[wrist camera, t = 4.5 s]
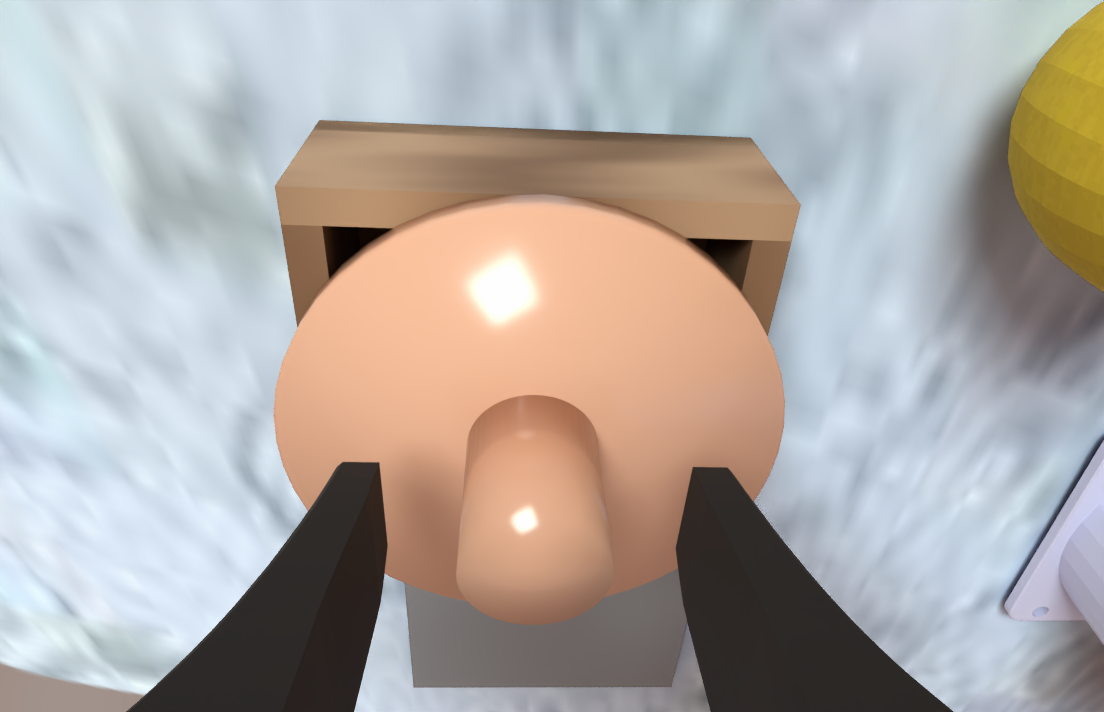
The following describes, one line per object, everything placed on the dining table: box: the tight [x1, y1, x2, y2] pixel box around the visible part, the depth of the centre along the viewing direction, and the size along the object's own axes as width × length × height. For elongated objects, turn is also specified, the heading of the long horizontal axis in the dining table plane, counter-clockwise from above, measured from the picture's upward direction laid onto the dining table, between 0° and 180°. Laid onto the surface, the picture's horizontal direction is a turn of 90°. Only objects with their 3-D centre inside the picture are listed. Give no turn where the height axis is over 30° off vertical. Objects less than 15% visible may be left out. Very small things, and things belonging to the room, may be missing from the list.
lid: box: [274, 194, 785, 625], centre depth 14 cm, size 10×10×4 cm
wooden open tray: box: [275, 120, 801, 336], centre depth 17 cm, size 9×9×4 cm
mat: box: [405, 568, 687, 687], centre depth 24 cm, size 9×9×1 cm
